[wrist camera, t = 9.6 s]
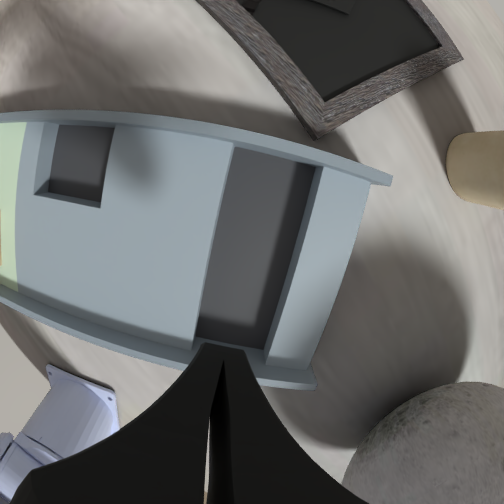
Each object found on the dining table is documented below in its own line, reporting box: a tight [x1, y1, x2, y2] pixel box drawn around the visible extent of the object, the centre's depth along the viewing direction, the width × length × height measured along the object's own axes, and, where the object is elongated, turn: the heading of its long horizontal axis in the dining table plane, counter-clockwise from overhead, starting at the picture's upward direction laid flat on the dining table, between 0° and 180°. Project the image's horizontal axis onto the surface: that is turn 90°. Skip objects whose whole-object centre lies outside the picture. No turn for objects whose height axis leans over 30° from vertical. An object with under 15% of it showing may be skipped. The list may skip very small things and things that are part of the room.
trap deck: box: [0, 110, 393, 391], centre depth 15 cm, size 14×31×4 cm, turn 77°
